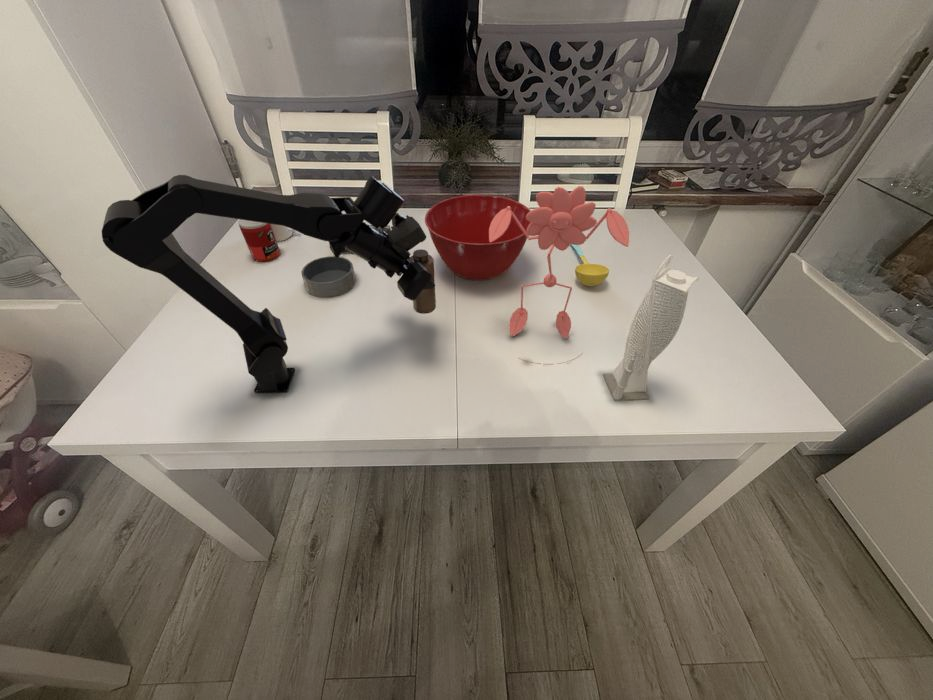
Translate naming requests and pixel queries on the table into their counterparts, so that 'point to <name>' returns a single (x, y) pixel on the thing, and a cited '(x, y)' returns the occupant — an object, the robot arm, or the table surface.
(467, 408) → the table surface
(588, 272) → the ladle
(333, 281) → the tin
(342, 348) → the table surface
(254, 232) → the canned food
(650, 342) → the skyscraper
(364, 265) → the table surface
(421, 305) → the pepper mill
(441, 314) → the table surface
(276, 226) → the mug
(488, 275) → the mixing bowl
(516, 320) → the figurine
